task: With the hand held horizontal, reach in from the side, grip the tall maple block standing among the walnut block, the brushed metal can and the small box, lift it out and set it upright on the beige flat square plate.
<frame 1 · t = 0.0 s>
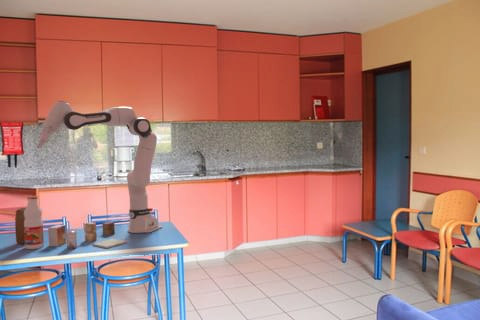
hand: (38, 147, 236), 54 cm above the table, tool tilted 30°, fingers open, 8 cm apart
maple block: (90, 240, 242), on the table
walnut block: (108, 234, 258), on the table
block: (25, 243, 239), on the table
metal can: (71, 247, 226), on the table
fruit juice: (34, 247, 229), on the table
beige flat square plate: (110, 244, 233), on the table
small box: (57, 245, 234), on the table
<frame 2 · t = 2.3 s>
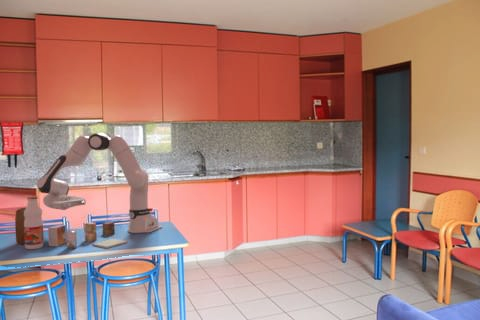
hand: (76, 204, 248), 20 cm above the table, tool horizontal, fingers open, 8 cm apart
nothing on the table moved.
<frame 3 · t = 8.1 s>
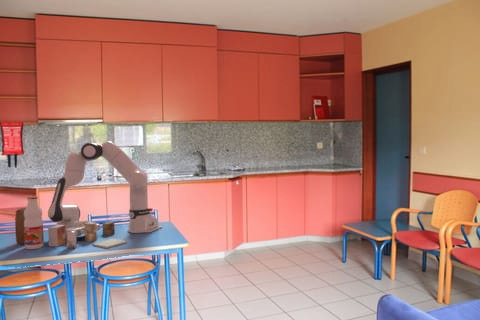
hand: (91, 231, 242), 6 cm above the table, tool horizontal, fingers closed on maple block, 4 cm apart
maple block: (90, 240, 242), on the table, touching gripper
everything else where it was.
when the fingers open (8 cm above the table, at t = 14.8 s): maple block drops 1 cm, resting on beige flat square plate.
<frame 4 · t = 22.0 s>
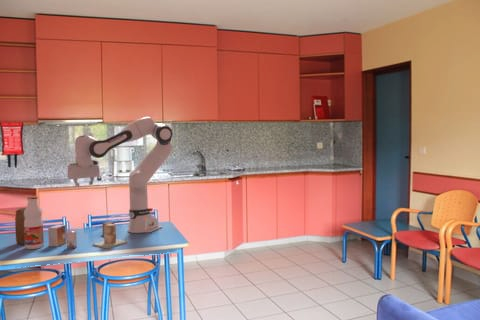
hand: (84, 185, 249), 31 cm above the table, tool pointing down, fingers open, 8 cm apart
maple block: (110, 242, 233), point 1 cm above the table, touching beige flat square plate
everything else where it was.
at the end: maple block inside the target area on the beige flat square plate (0.0 cm from its centre), point 1.0 cm above the beige flat square plate's base; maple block tilted 0°; the gripper is holding nothing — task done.
